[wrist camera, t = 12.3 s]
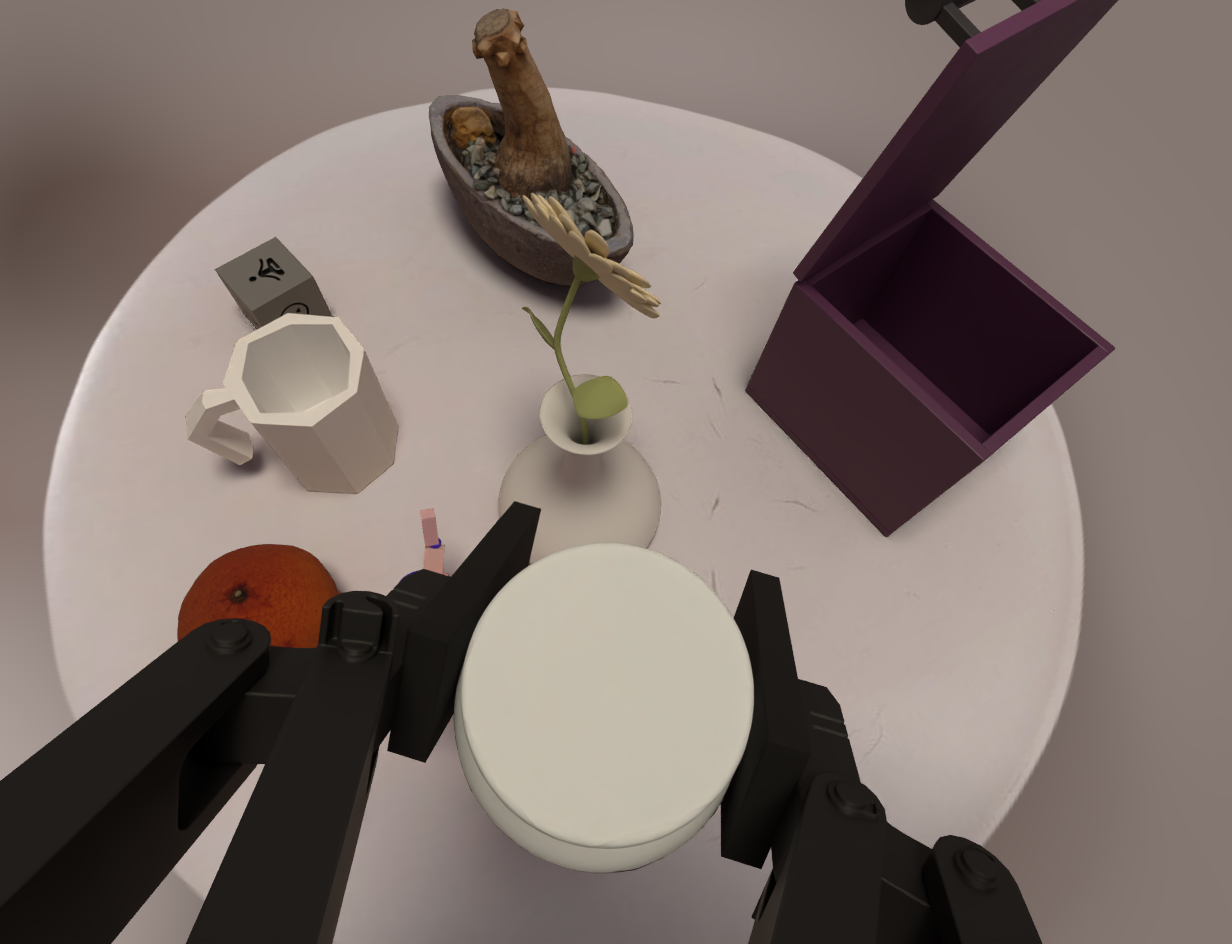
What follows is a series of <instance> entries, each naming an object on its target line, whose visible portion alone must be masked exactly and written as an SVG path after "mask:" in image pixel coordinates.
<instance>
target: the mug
mask: <svg viewBox="0 0 1232 944" xmlns="http://www.w3.org/2000/svg"><path fill="white" fill-rule="evenodd" d="M223 385H224V386H225V387H226V388H220V389H212V390H205V391H203V392H202V394H201V395H200V397H199V398H198V399H197V401H196V402H195V404H194V405H193V407H192V408H191V409H190V411H189V412H188V414H187V415H186V423H187V431H188V440H190V441H192V442H194V443H196V444H198V445H200V446H202V447H204V448H206V449H208V450H210V451H212V452H214V453H216V454H218V455H220V456H222V457H224V458H226V459H228V460H230V461H232V462H234V463H236V464H238V465H242V464H243V463H245V462H247V461H249V460H251V459H252V456H253V445H252V442H251V439H250V436H249V434H248V433H246V432H244V431H242V430H239V429H237V428H235V427H232V426H230V425H228V424H225V423H223V422H221V421H218V419H219V417H220V416H221V415H223V414H226V413H229V412H232V411H235V410H238V409H241V410H242V411H243V412H244V414H245V415H246V417H247V418H248V419H249V421H250V422H251V423H252V425H253V426H254V427H255V428H256V429H257V431H258V432H259V433H260V434H261V435H262V437H263V438H264V439H265V440H266V441H267V443H268V444H269V445H270V446H271V447H272V449H273V450H274V451H275V452H276V453H277V454H278V456H279V457H280V458H281V459H282V460H283V462H284V463H285V464H286V465H287V466H288V468H289V469H290V470H291V471H292V472H293V474H294V475H295V476H296V477H297V478H298V480H299V481H300V482H301V483H302V484H303V486H304V487H305V488H306V489H307V490H308V491H317V492H336V493H355V494H358V493H359V492H360V491H361V490H362V489H364V488H365V487H366V486H367V485H368V484H370V483H371V482H372V481H373V480H375V479H376V478H377V477H378V476H379V475H381V474H382V473H383V472H384V471H385V470H387V469H388V468H389V467H390V466H391V465H393V463H394V455H395V448H396V441H397V433H398V424H397V422H396V420H395V418H394V415H393V413H392V411H391V409H390V406H389V404H388V402H387V400H386V397H385V395H384V393H383V391H382V388H381V386H380V384H379V382H378V379H377V377H376V375H375V373H374V370H373V368H372V366H371V363H370V361H369V359H368V357H367V354H366V352H365V350H364V348H363V347H362V346H361V345H360V344H359V342H358V341H357V340H356V339H355V337H354V336H353V335H352V334H351V332H350V331H349V330H348V329H347V328H346V326H345V325H344V324H343V323H342V321H341V320H340V319H339V318H338V317H328V316H316V315H304V314H292V313H287V314H285V315H283V316H282V317H280V318H278V319H276V320H274V321H272V322H271V323H269V324H267V325H265V326H263V327H261V328H259V329H258V330H256V331H254V332H252V333H250V334H248V335H247V336H245V337H243V338H241V339H239V340H237V342H236V345H235V348H234V351H233V354H232V357H231V360H230V363H229V366H228V369H227V372H226V375H225V378H224V381H223Z"/></svg>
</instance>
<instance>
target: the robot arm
mask: <svg viewBox="0 0 1232 944" xmlns="http://www.w3.org/2000/svg"><path fill="white" fill-rule="evenodd" d="M540 513H541V508H537V507H534V506H530V505H527V504H523V503H520V502H516V501H514V502H513V503H512V504H511V506H510V507H509V508H508V509H507V510H506V512H505V513H504V514H503V515H502V516H501V518H500V519H499V520H498V521H497V522H496V524H495V525H494V526H493V527H492V528H491V530H490V531H489V532H488V533H487V534H486V536H485V537H484V538H483V539H482V540H481V542H480V543H479V544H478V545H477V546H476V548H475V549H474V550H473V551H472V553H471V554H470V555H469V556H468V557H467V559H466V560H465V561H464V562H463V563H462V565H461V566H460V567H459V568H458V569H457V571H456V572H455V573H454V574H453V575H452V577H450V576H447V575H443V574H440V573H437V572H433V571H430V570H427V569H422V570H419V571H417V572H415V573H412V574H410V575H407V576H405V577H404V578H403V579H402V580H401V581H400V582H399V583H398V584H397V585H396V586H395V587H394V590H392V591H391V592H390V593H389V594H388V595H387V596H384V595H382V594H378V593H374V592H370V591H351V592H346V593H340V594H338V595H336V596H334V597H332V598H330V599H328V601H327V602H326V603H325V604H324V605H323V606H322V615H321V624H320V633H319V641H318V646H317V647H315V648H293V647H280V646H271V634H270V632H269V631H268V630H267V628H266V627H265V626H264V625H262V624H259V623H257V622H255V621H253V620H247V619H240V618H231V619H219V620H216V621H212V622H208V623H205V624H203V625H201V626H199V627H197V628H196V629H194V630H192V631H191V632H190V633H188V634H187V635H186V636H185V637H183V638H182V639H181V640H179V641H178V642H177V643H176V644H174V645H173V646H172V647H170V648H169V649H168V650H167V651H165V652H164V653H163V654H162V655H160V656H159V657H158V658H156V659H155V660H154V661H153V662H151V663H150V664H149V665H148V666H146V667H145V668H144V669H142V670H141V671H140V672H139V673H137V674H136V675H135V676H133V677H132V678H131V679H130V680H128V681H127V682H126V683H125V684H123V685H122V686H121V687H119V688H118V689H117V690H116V691H114V692H113V693H112V694H111V695H109V696H108V697H107V698H105V699H104V700H103V701H102V702H100V703H99V704H98V705H97V706H95V707H94V708H93V709H91V710H90V711H89V712H88V713H86V714H85V715H84V716H82V717H81V718H80V719H79V720H77V721H76V722H75V723H74V724H72V725H71V726H70V727H68V728H67V729H66V730H65V731H63V732H62V733H61V734H60V735H58V736H57V737H56V738H54V739H53V740H52V741H51V742H50V743H48V744H47V745H45V746H44V747H43V748H42V749H40V750H39V751H38V752H37V753H36V754H34V755H33V756H31V757H30V758H29V759H28V760H27V761H25V762H24V763H23V764H21V765H20V766H19V767H18V768H16V769H15V770H14V771H12V772H11V773H10V774H8V775H7V776H6V777H5V778H3V779H2V780H1V781H0V944H111V943H112V942H113V941H114V940H115V938H116V937H117V936H118V935H119V933H120V932H121V931H122V930H123V929H124V927H125V926H126V925H127V924H128V922H129V921H130V920H131V919H132V918H133V916H134V915H135V914H136V913H137V912H138V910H139V909H140V908H141V907H142V905H143V904H144V903H145V902H146V901H147V899H148V898H149V897H150V895H151V894H152V893H153V892H154V891H155V889H156V888H157V887H158V886H159V885H160V883H161V882H162V881H163V880H164V879H165V877H166V876H167V875H168V874H169V872H170V871H171V870H172V869H173V868H174V866H175V865H176V864H177V863H178V861H179V860H180V859H181V858H182V857H183V855H184V854H185V853H186V852H187V851H188V849H189V848H190V847H191V846H192V844H193V843H194V842H195V841H196V840H197V838H198V837H199V836H200V835H201V833H202V832H203V831H204V830H205V829H206V827H207V826H208V825H209V824H210V822H211V821H212V820H213V819H214V818H215V816H216V815H217V814H218V813H219V811H220V810H221V809H222V808H223V807H224V805H225V804H226V803H227V802H228V800H229V799H230V798H231V797H232V796H233V794H234V793H235V792H236V791H237V789H238V788H239V787H240V786H241V785H242V783H243V782H244V781H245V780H246V779H247V777H248V776H249V775H250V774H251V772H252V771H253V770H254V769H255V768H256V766H257V764H265V766H264V768H263V771H262V773H261V775H260V777H259V780H258V782H257V784H256V786H255V789H254V791H253V793H252V795H251V798H250V800H249V802H248V804H247V807H246V809H245V811H244V813H243V816H242V818H241V820H240V823H239V825H238V827H237V829H236V832H235V834H234V836H233V838H232V841H231V843H230V845H229V847H228V850H227V852H226V854H225V856H224V859H223V861H222V863H221V865H220V868H219V870H218V872H217V874H216V877H215V879H214V881H213V883H212V886H211V888H210V890H209V893H208V895H207V897H206V899H205V902H204V904H203V906H202V908H201V911H200V913H199V915H198V917H197V920H196V922H195V924H194V926H193V929H192V931H191V933H190V935H189V938H188V940H187V943H186V944H332V943H333V938H334V934H335V930H336V926H337V922H338V918H339V914H340V910H341V906H342V902H343V898H344V894H345V890H346V886H347V881H348V877H349V873H350V869H351V865H352V861H353V857H354V853H355V849H356V845H357V841H358V837H359V833H360V829H361V825H362V820H363V816H364V812H365V808H366V804H367V800H368V796H369V792H370V788H371V784H372V780H373V776H374V772H375V768H376V763H377V757H378V751H379V746H380V744H381V743H382V741H383V740H384V738H385V737H386V736H387V734H388V733H389V731H390V730H391V732H390V738H389V744H388V750H387V751H390V752H393V753H396V754H399V755H402V756H405V757H409V758H412V759H415V760H418V761H421V762H424V763H425V762H426V761H427V759H428V757H429V755H430V754H431V752H432V750H433V749H434V747H435V745H436V743H437V742H438V740H439V738H440V736H441V735H442V733H443V731H444V729H445V728H446V726H447V724H448V723H449V721H450V719H451V717H452V716H453V714H454V703H455V694H456V688H457V684H458V680H459V676H460V673H461V670H462V667H463V664H464V661H465V657H466V653H467V650H468V646H469V643H470V640H471V638H472V635H473V632H474V630H475V628H476V626H477V624H478V622H479V620H480V618H481V616H482V614H483V613H484V611H485V609H486V608H487V607H488V605H489V604H490V602H491V601H492V600H493V598H494V597H495V596H496V595H497V593H498V592H499V591H500V590H501V589H502V588H503V587H504V586H505V585H506V584H507V583H508V582H509V581H510V580H511V579H512V578H513V577H515V576H516V575H517V574H518V573H519V572H521V571H522V570H523V569H525V568H526V567H528V565H529V561H530V557H531V552H532V548H533V544H534V539H535V535H536V530H537V526H538V522H539V517H540ZM734 620H735V622H736V624H737V626H738V628H739V630H740V632H741V635H742V637H743V639H744V642H745V645H746V648H747V651H748V655H749V659H750V663H751V668H752V674H753V683H754V708H753V718H752V724H751V729H750V733H749V737H748V741H747V745H746V748H745V751H744V753H743V756H742V758H741V761H740V763H739V765H738V767H737V769H736V771H735V773H734V775H733V777H732V779H731V782H730V784H729V787H728V789H727V791H726V793H725V795H724V797H723V800H722V802H721V857H724V858H728V859H731V860H734V861H737V862H740V863H743V864H747V865H750V866H753V867H756V868H759V869H762V867H763V864H764V862H765V860H766V857H767V855H768V853H769V850H770V848H771V850H772V861H773V869H772V872H771V874H770V876H769V878H768V881H767V883H766V885H765V887H764V890H763V892H762V894H761V896H760V899H759V901H758V903H757V906H756V908H755V910H754V912H753V915H752V917H751V918H753V919H755V922H754V926H753V929H752V933H751V936H750V940H749V943H748V944H1042V942H1041V939H1040V937H1039V934H1038V932H1037V930H1036V928H1035V925H1034V923H1033V921H1032V918H1031V916H1030V913H1029V911H1028V908H1027V906H1026V904H1025V901H1024V899H1023V897H1022V894H1021V892H1020V890H1019V887H1018V885H1017V883H1016V882H1015V880H1014V878H1013V877H1012V875H1011V873H1010V872H1009V870H1008V869H1007V868H1006V867H1005V866H1004V865H1003V864H1002V863H1001V862H1000V861H999V860H998V859H997V858H996V857H995V856H994V855H993V854H991V853H990V852H989V851H987V850H986V849H984V848H983V847H982V846H980V845H978V844H976V843H974V842H972V841H970V840H968V839H966V838H962V837H957V836H952V835H948V836H944V837H940V838H939V839H938V841H937V842H936V843H935V845H934V847H933V848H932V849H931V848H929V847H927V846H925V845H924V844H922V843H920V842H918V841H916V840H915V839H913V838H911V837H909V836H907V835H906V834H904V833H902V832H901V831H899V830H898V829H896V828H894V827H893V826H891V825H890V824H889V823H888V822H887V820H886V815H885V809H884V807H883V806H882V804H881V802H880V801H879V799H878V798H877V796H876V795H875V794H874V793H873V792H872V791H870V790H869V789H868V788H867V787H866V786H865V785H864V784H862V783H861V782H860V778H859V775H858V771H857V767H856V763H855V760H854V756H853V752H852V748H851V745H850V741H849V739H848V734H847V730H846V726H845V725H844V719H843V715H842V711H841V707H840V704H839V703H838V702H837V700H836V699H835V698H834V696H833V695H832V694H831V692H830V691H829V690H828V688H827V687H824V686H820V685H817V684H814V683H810V682H807V681H804V680H800V679H798V677H797V671H796V666H795V661H794V655H793V650H792V644H791V639H790V634H789V628H788V623H787V617H786V612H785V607H784V601H783V596H782V590H781V585H780V580H779V578H778V577H775V576H771V575H768V574H764V573H761V572H758V571H754V570H751V571H750V574H749V576H748V579H747V582H746V585H745V588H744V590H743V593H742V596H741V599H740V602H739V605H738V607H737V610H736V613H735V616H734Z"/></svg>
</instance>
